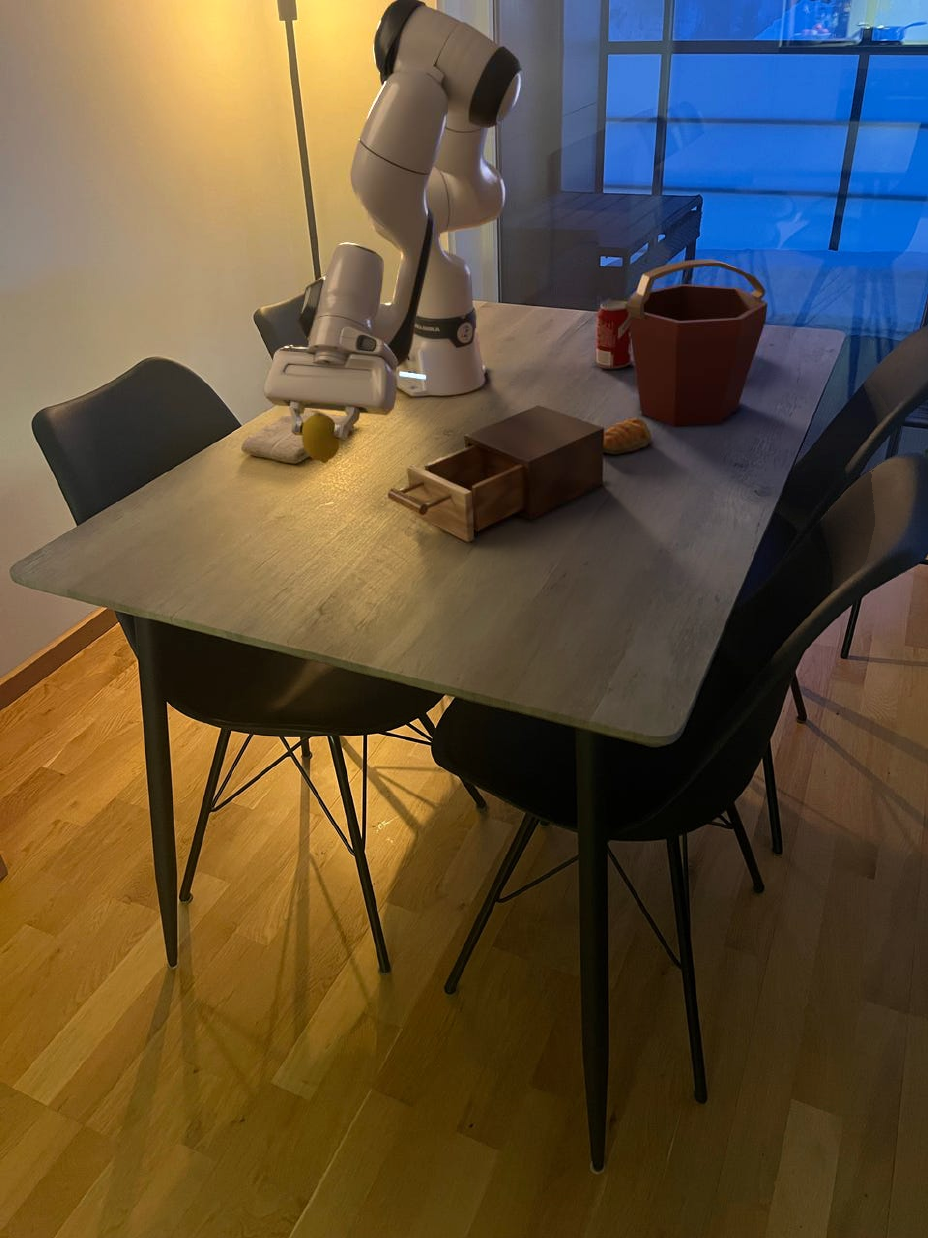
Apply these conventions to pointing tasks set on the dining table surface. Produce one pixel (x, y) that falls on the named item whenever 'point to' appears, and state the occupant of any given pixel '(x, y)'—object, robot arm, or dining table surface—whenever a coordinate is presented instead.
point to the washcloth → (282, 439)
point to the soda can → (613, 335)
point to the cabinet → (547, 455)
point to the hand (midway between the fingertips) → (318, 436)
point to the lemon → (320, 437)
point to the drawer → (464, 491)
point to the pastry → (626, 436)
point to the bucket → (693, 344)
